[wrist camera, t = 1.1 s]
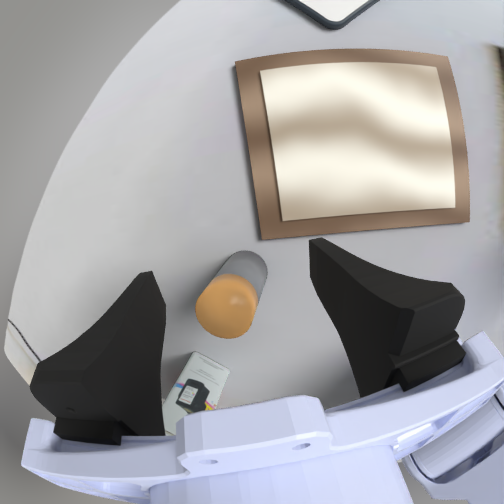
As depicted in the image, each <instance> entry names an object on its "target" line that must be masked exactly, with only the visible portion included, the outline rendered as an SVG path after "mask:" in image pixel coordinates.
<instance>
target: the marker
mask: <svg viewBox="0 0 504 504" xmlns="http://www.w3.org/2000/svg"><path fill="white" fill-rule="evenodd" d="M267 273H268V272H267V266H266V264H265V262H264V260H263V259H262V258H261V257H260V256H259V255H257V254H256V253H253V252H250V251H239V252H236V253H234V254H233V255H231V256H230V257H229V259H228V260H227V261H226V263H225V264H224V265H223V266H222V268H221V269H220V270H219V272H218V273H217V274H216V275H215V277H214V278H213V279H212V281H211V282H210V283H209V285H208V286H207V287H206V288H205V290H204V291H203V292H202V294H201V295H200V296H199V298H198V300H197V302H196V306H195V312H196V316H197V319H198V321H199V323H200V324H201V325H202V327H203V328H204V329H205V330H206V331H208V332H209V333H211V334H212V335H214V336H217V337H220V338H226V339H230V338H236V337H239V336H241V335H243V334H244V333H246V332H247V331H248V329H249V328H250V326H251V323H252V321H253V318H254V315H255V312H256V309H257V306H258V303H259V300H260V297H261V294H262V291H263V288H264V285H265V282H266V279H267Z"/></svg>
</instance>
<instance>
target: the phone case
mask: <svg viewBox="0 0 504 504" xmlns="http://www.w3.org/2000/svg"><path fill="white" fill-rule="evenodd" d="M285 1H286V2H288V3H290V4H291V5H293V6H295V7H296V8H298V9H299V10H301V11H302V12H304V13H306V14H307V15H309V16H310V17H312V18H313V19H314V20H316V21H317V22H319V23H320V24H322V25H323V26H325V27H327V28H329V29H341V28H343V27H344V26H346V25H347V24H348V23H349V22H351V21H352V20H353V19H355V18H356V17H357V16H359V15H360V14H361V13H363V12H364V11H365V10H367V9H368V8H370V7H371V6H372V5H374V4H375V3H377V2H378V1H380V0H285Z"/></svg>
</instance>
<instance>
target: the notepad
mask: <svg viewBox="0 0 504 504" xmlns="http://www.w3.org/2000/svg"><path fill="white" fill-rule="evenodd" d="M235 65H236V71H237V77H238V84H239V90H240V96H241V103H242V109H243V115H244V122H245V128H246V135H247V141H248V148H249V154H250V161H251V168H252V174H253V181H254V188H255V195H256V202H257V209H258V215H259V222H260V229H261V236H262V240H265V239H276V238H286V237H297V236H308V235H319V234H330V233H341V232H352V231H364V230H376V229H388V228H400V227H412V226H425V225H438V224H451V223H464V222H470V190H469V170H468V157H467V148H466V139H465V132H464V125H463V119H462V113H461V108H460V103H459V98H458V93H457V89H456V85H455V81H454V77H453V73H452V69H451V66H450V62H449V59H448V57H447V56H441V55H435V54H428V53H420V52H411V51H400V50H385V49H327V50H312V51H301V52H291V53H283V54H276V55H269V56H262V57H257V58H251V59H246V60H241V61H236V62H235Z"/></svg>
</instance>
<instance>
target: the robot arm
mask: <svg viewBox="0 0 504 504" xmlns="http://www.w3.org/2000/svg"><path fill="white" fill-rule="evenodd" d="M309 257H310V278H311V280H312V283H313V286H314V288H315V291H316V293H317V295H318V297H319V299H320V301H321V302H322V304H323V306H324V308H325V310H326V311H327V313H328V315H329V317H330V318H331V320H332V322H333V324H334V326H335V327H336V329H337V331H338V334H339V336H340V338H341V341H342V343H343V346H344V348H345V351H346V353H347V356H348V359H349V362H350V365H351V367H352V370H353V373H354V377H355V380H356V383H357V386H358V390H359V393H360V397H361V398H360V399H357V400H354V401H351V402H348V403H345V404H342V405H339V406H336V407H333V408H329V409H326V410H324V409H323V406H322V404H321V402H320V400H319V399H318V398H316V397H312V396H307V395H295V396H286V397H281V398H277V399H272V400H267V401H262V402H257V403H252V404H246V405H240V406H234V407H228V408H221V409H213V410H205V411H199V412H195V413H191V414H187V415H185V416H184V417H183V418H181V419H180V420H179V421H178V422H176V435H173V436H166V434H165V428H164V420H163V412H162V401H161V379H160V369H161V357H162V349H163V341H164V333H165V326H166V304H165V302H164V299H163V297H162V295H161V292H160V290H159V287H158V285H157V282H156V280H155V277H154V275H153V272H152V271H148V272H143V273H140V274H139V275H138V276H137V277H136V278H135V279H134V280H133V281H132V282H131V284H130V285H129V286H128V287H127V288H126V290H125V291H124V292H123V293H122V294H121V296H120V297H119V298H118V299H117V300H116V301H115V303H114V304H113V305H112V306H111V307H110V308H109V309H108V310H107V312H106V313H105V314H104V315H103V316H102V317H101V318H100V319H99V320H98V321H97V322H96V323H95V324H94V325H93V326H92V327H90V328H89V329H88V330H87V331H86V332H85V333H83V334H82V335H81V336H80V337H78V338H77V339H76V340H75V341H73V342H72V343H71V344H69V345H68V346H66V347H65V348H63V349H62V350H60V351H59V352H57V353H55V354H54V355H52V356H50V357H48V358H47V359H45V360H43V361H41V362H39V363H38V364H37V367H36V370H35V372H34V375H33V378H32V381H31V384H30V390H31V392H32V394H33V395H34V397H35V398H36V399H37V400H38V401H39V402H40V403H41V404H42V405H43V406H44V407H45V408H46V409H47V410H49V411H50V412H51V413H52V414H53V415H54V416H56V422H55V423H53V422H51V421H48V420H43V419H36V418H31V422H30V425H29V429H28V433H27V438H26V442H25V447H24V451H23V457H22V462H21V465H22V466H23V467H24V468H26V469H28V470H30V471H31V472H33V473H35V474H37V475H39V476H40V477H42V478H44V479H46V480H48V481H50V482H52V483H54V484H56V485H58V486H61V487H65V488H68V489H72V490H75V491H79V492H83V493H87V494H91V495H95V496H99V497H104V498H109V499H114V500H119V501H125V502H130V503H137V504H413V501H412V499H411V496H410V493H409V491H408V488H407V486H406V483H405V481H404V478H403V476H402V474H401V471H400V469H399V466H398V464H397V460H399V459H402V462H403V464H404V466H405V468H406V470H407V471H408V473H409V474H410V475H411V476H412V477H413V478H414V479H415V480H417V481H418V482H419V483H420V484H421V485H422V486H423V487H424V489H425V490H426V491H427V493H428V494H430V496H431V498H433V499H440V500H467V501H468V503H469V504H504V357H503V356H502V354H501V353H500V352H499V350H498V349H497V348H496V347H495V345H494V344H493V343H492V341H491V340H490V339H489V338H488V336H487V335H486V334H485V333H484V332H483V331H481V332H479V333H477V334H476V335H474V336H472V337H471V338H469V339H467V340H466V341H465V342H464V343H463V342H462V341H461V339H460V338H459V335H458V333H457V332H456V331H455V330H456V327H457V325H458V322H459V320H460V318H461V316H462V313H463V310H464V306H465V299H464V296H463V295H462V294H461V293H460V292H459V291H458V290H457V289H456V288H455V287H454V286H453V284H452V283H446V282H437V281H429V280H423V279H418V278H413V277H409V276H405V275H402V274H398V273H395V272H392V271H389V270H386V269H384V268H381V267H378V266H376V265H374V264H371V263H369V262H367V261H365V260H363V259H361V258H359V257H357V256H355V255H353V254H351V253H349V252H347V251H345V250H344V249H342V248H340V247H338V246H337V245H335V244H333V243H331V242H329V241H328V240H326V239H324V238H316V239H311V240H309Z"/></svg>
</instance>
